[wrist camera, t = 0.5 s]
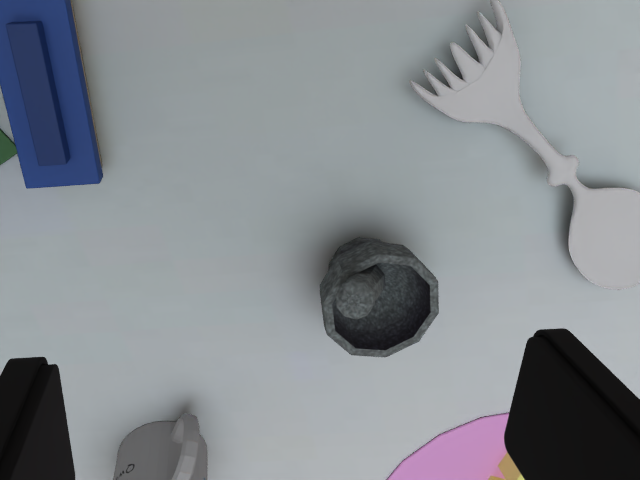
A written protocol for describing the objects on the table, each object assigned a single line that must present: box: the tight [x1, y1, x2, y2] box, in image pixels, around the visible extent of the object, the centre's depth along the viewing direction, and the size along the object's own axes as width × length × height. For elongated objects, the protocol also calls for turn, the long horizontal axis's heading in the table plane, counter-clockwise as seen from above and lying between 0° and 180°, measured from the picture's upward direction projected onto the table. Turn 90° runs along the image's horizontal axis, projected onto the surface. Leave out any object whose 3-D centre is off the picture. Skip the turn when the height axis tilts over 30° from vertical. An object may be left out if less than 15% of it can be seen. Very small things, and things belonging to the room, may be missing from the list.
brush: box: [0, 0, 103, 188], centre depth 39 cm, size 13×5×5 cm, turn 1°
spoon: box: [409, 0, 640, 290], centre depth 49 cm, size 9×32×3 cm, turn 46°
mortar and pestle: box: [320, 237, 439, 357], centre depth 46 cm, size 11×9×12 cm
